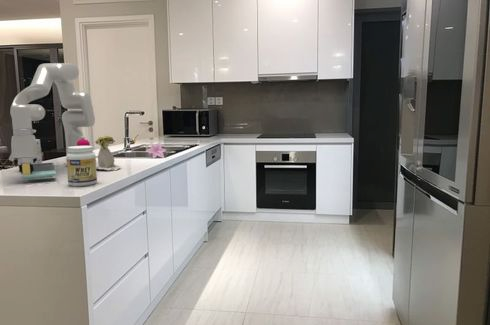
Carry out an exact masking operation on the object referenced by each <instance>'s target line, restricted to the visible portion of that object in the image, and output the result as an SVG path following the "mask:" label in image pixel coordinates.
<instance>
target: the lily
mask: <svg viewBox="0 0 490 325" xmlns="http://www.w3.org/2000/svg"><path fill="white" fill-rule="evenodd" d="M149 146H150V148H148V149H146V150H145V152H146V153H150V154H152V159H155V158H156V157H157V156H158V157H159V158H162V159H164V158H165V156H164V153H163V152H165V151H167V149H166V148H162V142H161V141H158V142H157V143H156V144H154V143H153V144H152V143H150V145H149Z"/></svg>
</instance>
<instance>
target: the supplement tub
mask: <svg viewBox="0 0 490 325" xmlns="http://www.w3.org/2000/svg"><path fill="white" fill-rule="evenodd" d="M68 151H69V153H68V154H67V153H66V157H65V159H66V163H67V166H66V172H67V183H68V186H72V187H86V186H88V185H89V186H92V185H94V184H96V183H97V182H98V177H97V176H98V175H97V169H96V167H97V159H96V154H95V152H94V147H93V145H90V146H72V147H68ZM89 186H88V187H89Z"/></svg>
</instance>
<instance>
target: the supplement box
mask: <svg viewBox="0 0 490 325" xmlns="http://www.w3.org/2000/svg"><path fill="white" fill-rule="evenodd" d="M35 139H36V144H37V151H38V152H39V154H40V155H41V158H40V159H38V160H37V161H36V162H35V163H34V164H39V163H43V156H42V147H41V146H42V145H41V139H39V138H38V139H37V138H35ZM36 157H37V156H36ZM36 157H33V159H34V158H36ZM29 162H30V158H21V163H29Z"/></svg>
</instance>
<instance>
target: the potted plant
mask: <svg viewBox="0 0 490 325" xmlns="http://www.w3.org/2000/svg"><path fill="white" fill-rule="evenodd" d="M115 142H116V140H114V138H113V137H112V136H109V135H102V136H99V137H98V138H97V139H96V140H95V141H94V143H95V144H96V145H99V146H100V148H99V151H98V154H97V162H98V163H97V164H98V166H96V170H101V171H102V170H103V171H104V170H105V171H115V172H116V171H117V170H119V169H121V165H115V162H116V161H115V157H114V155H113V153H112V152H111V150H110V148H109V147H108V146H109V145H113V144H114V143H115Z"/></svg>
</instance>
